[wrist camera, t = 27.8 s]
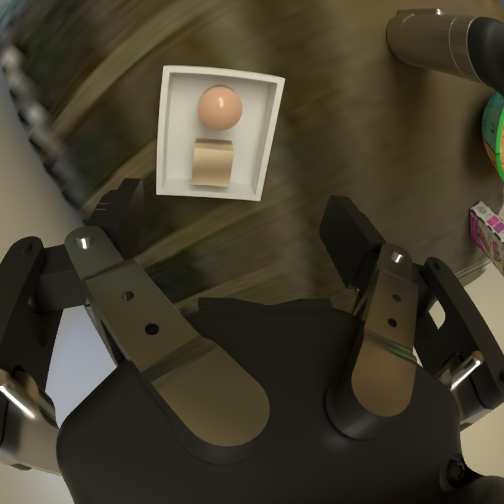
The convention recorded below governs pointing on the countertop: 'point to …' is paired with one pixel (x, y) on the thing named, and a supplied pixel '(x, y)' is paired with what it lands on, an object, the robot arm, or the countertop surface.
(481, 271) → the countertop surface
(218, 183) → the birch cube
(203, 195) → the tote
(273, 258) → the countertop surface
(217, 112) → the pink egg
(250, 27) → the countertop surface
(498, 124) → the bowl
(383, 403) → the robot arm
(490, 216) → the candy bar box
